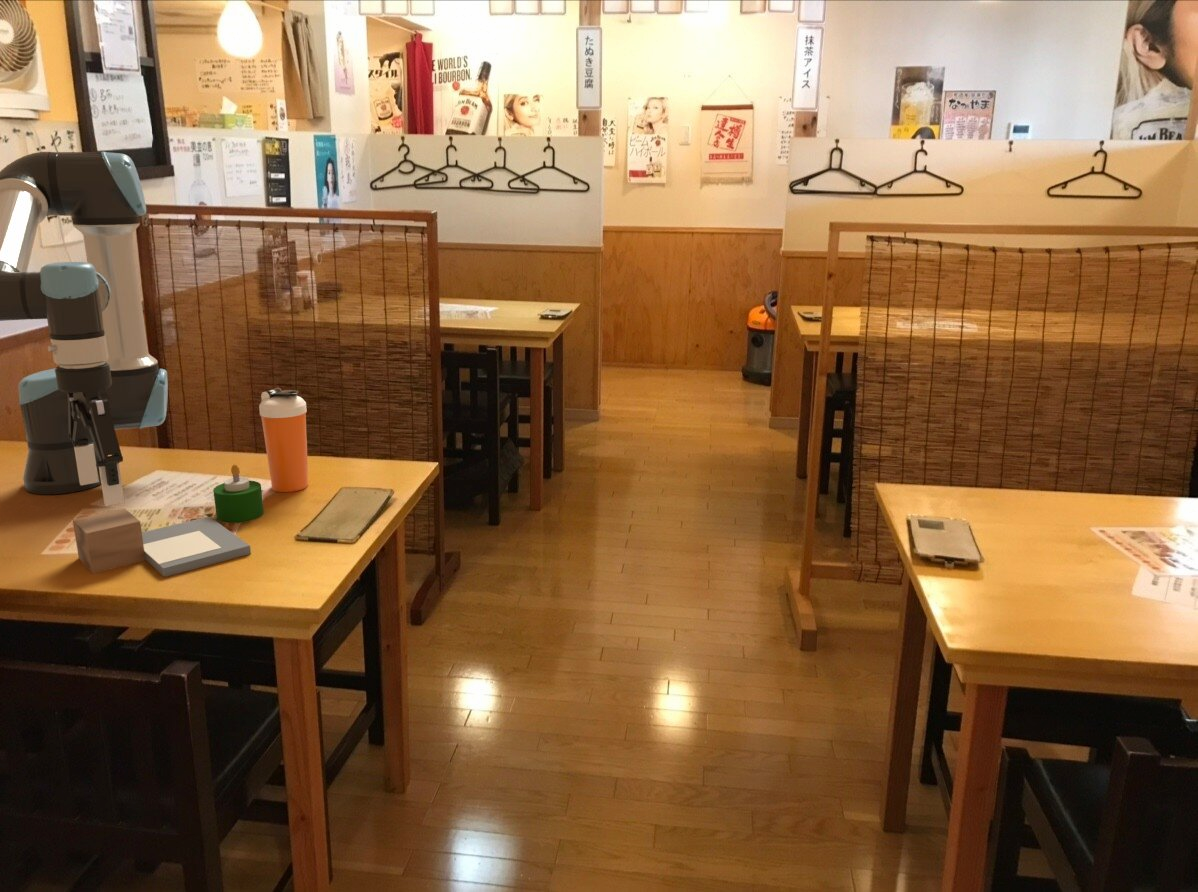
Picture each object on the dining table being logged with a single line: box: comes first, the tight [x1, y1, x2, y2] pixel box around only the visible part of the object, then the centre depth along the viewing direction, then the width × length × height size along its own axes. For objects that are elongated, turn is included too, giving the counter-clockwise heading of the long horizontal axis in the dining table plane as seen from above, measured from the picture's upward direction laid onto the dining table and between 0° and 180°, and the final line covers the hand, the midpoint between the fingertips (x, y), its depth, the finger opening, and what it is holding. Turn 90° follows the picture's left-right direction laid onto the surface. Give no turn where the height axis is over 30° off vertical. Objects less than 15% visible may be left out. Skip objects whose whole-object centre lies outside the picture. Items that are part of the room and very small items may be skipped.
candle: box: [213, 463, 265, 524], centre depth 173 cm, size 8×8×10 cm
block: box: [72, 508, 146, 574], centre depth 154 cm, size 8×8×7 cm
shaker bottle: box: [258, 387, 309, 493], centre depth 187 cm, size 9×9×20 cm
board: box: [142, 516, 252, 578], centre depth 159 cm, size 18×14×2 cm
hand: (101, 493), depth 151 cm, fingers open, 13 cm apart
